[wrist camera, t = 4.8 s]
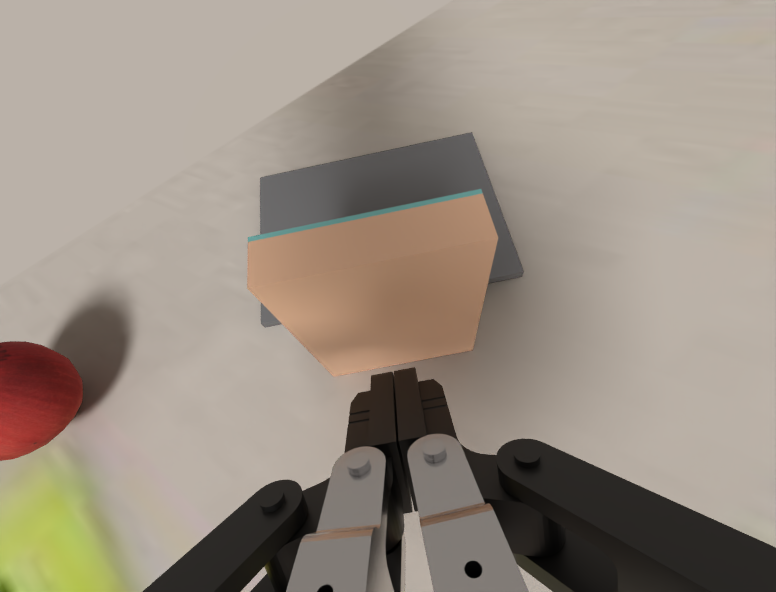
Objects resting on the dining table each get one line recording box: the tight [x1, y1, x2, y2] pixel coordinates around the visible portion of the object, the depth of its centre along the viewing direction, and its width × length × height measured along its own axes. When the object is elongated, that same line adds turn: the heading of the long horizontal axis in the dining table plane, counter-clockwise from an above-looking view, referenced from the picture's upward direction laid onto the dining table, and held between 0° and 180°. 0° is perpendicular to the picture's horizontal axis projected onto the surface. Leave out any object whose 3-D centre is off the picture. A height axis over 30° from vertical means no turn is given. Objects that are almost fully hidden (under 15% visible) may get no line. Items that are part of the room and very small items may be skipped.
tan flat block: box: [247, 189, 498, 377], centre depth 17 cm, size 8×2×11 cm, turn 99°
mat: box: [260, 132, 524, 327], centre depth 26 cm, size 16×12×1 cm
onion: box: [0, 342, 83, 461], centre depth 19 cm, size 6×6×8 cm
